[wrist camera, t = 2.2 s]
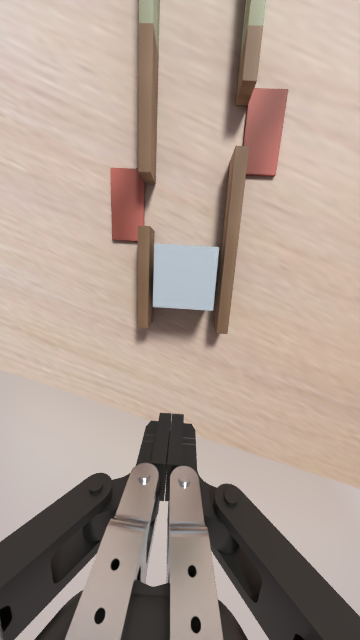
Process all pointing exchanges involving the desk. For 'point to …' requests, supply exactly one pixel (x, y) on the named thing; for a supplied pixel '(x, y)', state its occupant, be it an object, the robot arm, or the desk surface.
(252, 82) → the frame
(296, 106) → the desk surface
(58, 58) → the desk surface
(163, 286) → the slate block
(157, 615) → the robot arm
